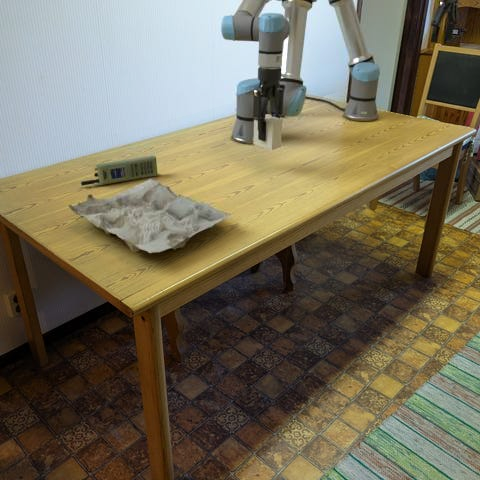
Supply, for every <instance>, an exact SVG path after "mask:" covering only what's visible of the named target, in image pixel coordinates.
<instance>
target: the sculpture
mask: <svg viewBox="0 0 480 480" xmlns="http://www.w3.org/2000/svg"><path fill="white" fill-rule="evenodd" d="M68 208H69V209H70V210H71V211H72V213H74V214H75V215H78V216H79V218H80V219H83V218H85V219H86V220H87V221H89V222H91V223H92V224H93V225H94V226H95V227H96V228H98V229H101V230H103V231H104V232H105V233H106V234H107V235H108V236H110V235H111V234H113V235H116V236H117V237H118V238H120V239H121V240H123V241H124V243H125V244H127V246H128V248H129V249H130V251H131V252H132V253H133V252H134V253H136V252H139V251H141V250H142V251H145V252H147V253H149V254H152V253H162V252H164V251H166V250H169V249H173V250H177V249H178V248H181V249H182V248H184V247H185V245H186V243H187V242H188V241H190V239H191V238H192V237H193V236H194V235H196V234H199V233H200V232H202V231H204V230H206V229H208V228H213V226H215V224H219V222H222V221H223V220H224V219H226V218H229V217H230V216H232V213H227V212H226V211H225V212H224V211H222V210H219V209H216V208H214V207H213V206H212V205H211V204H210V203H205V202H204V201H196V200H194V199H192V198H189V196H184V195H181V194H178V195H177V194H175V193H174V192H173V190H172V189H171V188H170V186H167V185H163V184H162V183H161V182H160V181H159V180H156V179H153V178H149V179H147V180H145V181H143V182H141V183H139V184H136V185H134V186H133V187H130V188H129V189H125V190H123V191H121V192H120V193H117V194H115V195H113V196H111V197H109V198H101V199H99V198H96V197H94V196H93V194H88V195H87V197H86V200H85V201H82V202H80V201H79V202H78V203H77V205H72V204H68Z"/></svg>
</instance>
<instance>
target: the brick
mask: <svg viewBox="0 0 480 480" xmlns="http://www.w3.org/2000/svg"><path fill="white" fill-rule="evenodd" d="M261 118H262V117H261ZM265 121H266V141H262V140H258V121H257V120H254V142H253V144H252V145H253V146H258V147H261V148H264V149H267V150H270V151H274V150H277V149H279V148H282V136H283V135H282V134H283V133H282V132H283V118H281V117H280V118H276V117H273V116H271V115H268V114H266V115H265Z"/></svg>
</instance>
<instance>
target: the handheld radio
mask: <svg viewBox="0 0 480 480" xmlns="http://www.w3.org/2000/svg"><path fill="white" fill-rule="evenodd" d="M157 164H158V163H157V156H156V155H147V156H141V157H140V156H139V157H134V158H127V159H121V160H115V161H108V162H101V163H96V164H93V167H94V168H93V171H97V172H95V173H94V174H93V175H94V177H96V179H90V180H83V181H82V180H81V181H80V185H81V186H88V185H93V184H94V185H96V186H97V187H98V186H99V187H100V186H105V185H109V184H115V183H121V182H128V181H134V180H139V179H144V178H151V177H156V176H158V175H159V174H158V165H157Z"/></svg>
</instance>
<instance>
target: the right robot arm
mask: <svg viewBox="0 0 480 480" xmlns="http://www.w3.org/2000/svg"><path fill="white" fill-rule="evenodd" d="M327 1H328V4H329V6H331V7H332V8H334V11H335V15H336V18H337V21H338V25H339V28H340V31H341V34H342V35H341V36H342V38H343V41H344V44H345V47H346V51H347V54H348V57H349V60H348V62H347V65H348V69H349V72H350V76H351V85H350V92H349V100H348V102H347V105H346V107H341V106H339V105H338V104H335V103H334V102H331V101H330V100H327V99H323V98H316V97H311V96H307V95H306V97H305V99H309V100H314V101H319V102H324V103H327V104H329V105H331V106H333V107H335V108H337V109H338V110H341V111H343V117H344V118H345V119H347V120H350V121H353V122H373V121H376V120H377V119H378V115H379V114H378V108H377V103H376V100H377V94H378V85H379V81H380V80H379V77H380V75H381V68H380V66H379V65H378V64H376V63H375V60H374V59H375V58H374V55H373V54H372V53H370V52H369V50H368V47H367V44H366V40H365V37H364V33H363V30H362V27H361V23H360V20H359V17H358V12H357V9H356V7H355V2H354V0H327ZM458 7H459V0H438V4H437V7H436V10H435V12H434V15H433V17H432V20H431V23H430V26H431V27H433V28H432V32H431V37H430V43H432V44H433V43H435V44H438V40H439V36H440V35H439V34H440V30H441V24H442V21H443V19H444V18H445V16H446V14H447V18H448V23H447V26H446V31H445V36H444V40H449V41H452V38H453V33H454V28H455V25H457V24H458V22H459V21H458V18H459V15H458V14H459V9H458Z"/></svg>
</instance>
